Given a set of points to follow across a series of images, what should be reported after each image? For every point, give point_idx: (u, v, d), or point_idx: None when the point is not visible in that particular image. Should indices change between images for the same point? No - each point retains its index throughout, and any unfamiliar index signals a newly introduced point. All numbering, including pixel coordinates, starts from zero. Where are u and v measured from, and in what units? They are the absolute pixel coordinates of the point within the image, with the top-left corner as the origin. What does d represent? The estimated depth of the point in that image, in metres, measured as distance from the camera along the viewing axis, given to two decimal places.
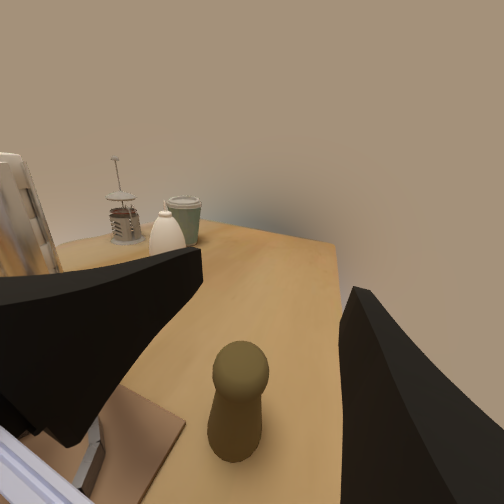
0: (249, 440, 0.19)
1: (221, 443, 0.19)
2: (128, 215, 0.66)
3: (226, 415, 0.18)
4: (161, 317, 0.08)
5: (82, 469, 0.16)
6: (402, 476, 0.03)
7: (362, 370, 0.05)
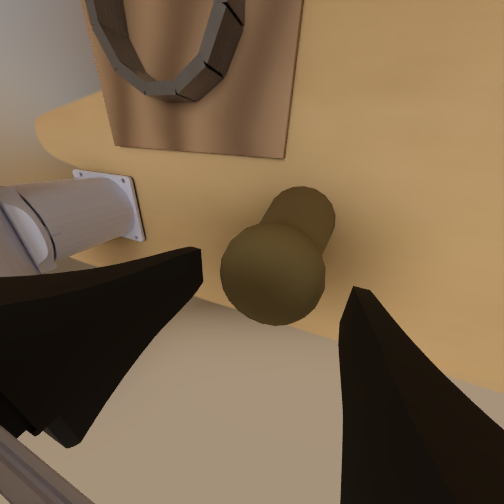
0: None
1: None
2: None
3: None
4: (161, 317, 0.08)
5: (184, 76, 0.13)
6: (402, 476, 0.03)
7: (363, 370, 0.05)
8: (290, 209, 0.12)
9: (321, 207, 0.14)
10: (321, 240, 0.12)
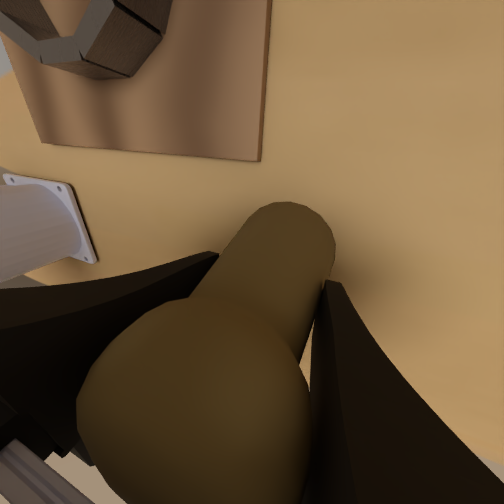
0: None
1: None
2: None
3: None
4: None
5: (87, 27, 0.08)
6: (328, 441, 0.03)
7: (322, 355, 0.06)
8: (257, 249, 0.07)
9: (313, 238, 0.09)
10: (311, 307, 0.07)
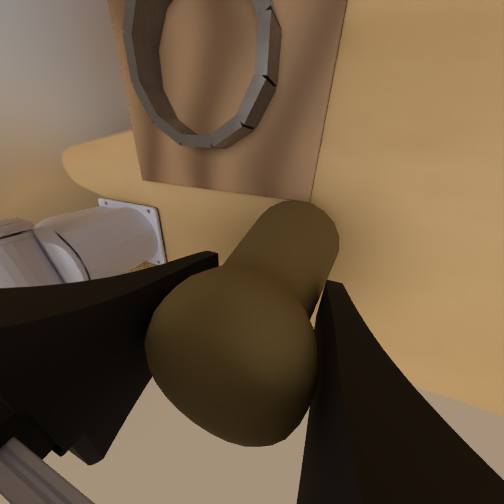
0: None
1: None
2: None
3: None
4: None
5: (220, 133, 0.14)
6: (332, 443, 0.03)
7: (324, 357, 0.06)
8: (271, 236, 0.09)
9: (317, 229, 0.10)
10: (316, 282, 0.08)
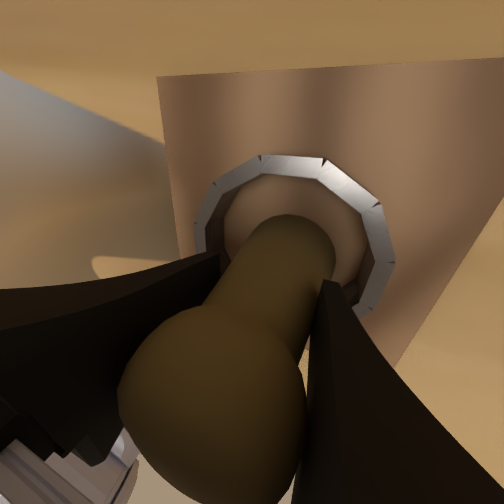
0: None
1: None
2: None
3: None
4: None
5: None
6: (323, 439, 0.03)
7: (319, 355, 0.06)
8: (256, 260, 0.08)
9: (308, 245, 0.10)
10: (307, 308, 0.07)
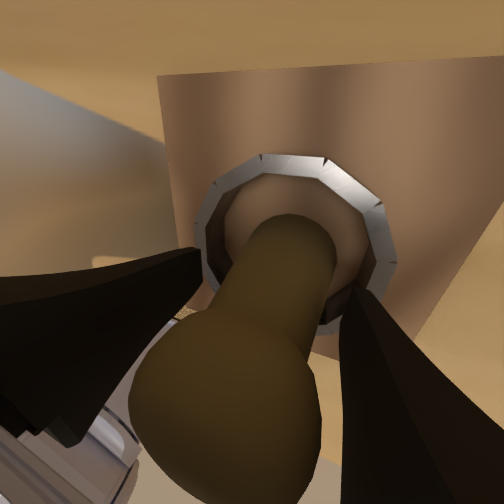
0: None
1: None
2: None
3: None
4: (161, 317, 0.08)
5: None
6: (402, 476, 0.03)
7: (363, 370, 0.05)
8: (261, 261, 0.08)
9: (311, 245, 0.10)
10: (314, 308, 0.08)
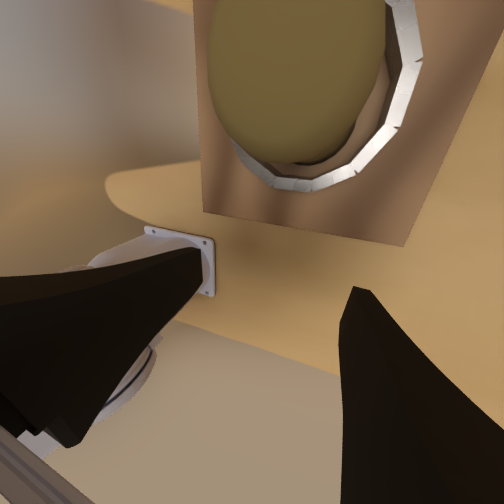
0: None
1: None
2: None
3: None
4: (161, 317, 0.08)
5: (326, 179, 0.13)
6: (402, 476, 0.03)
7: (362, 370, 0.05)
8: None
9: None
10: None
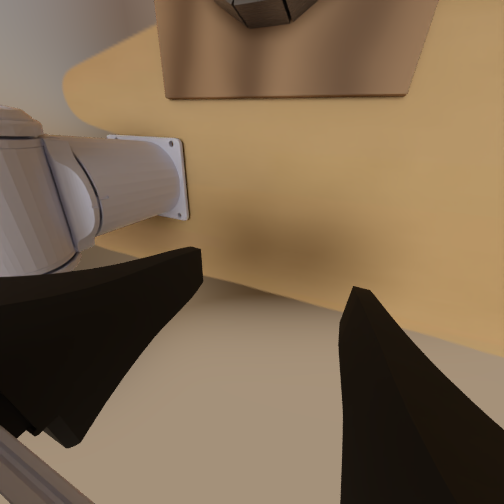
0: None
1: None
2: None
3: None
4: (161, 317, 0.08)
5: None
6: (402, 476, 0.03)
7: (363, 370, 0.05)
8: None
9: None
10: None
